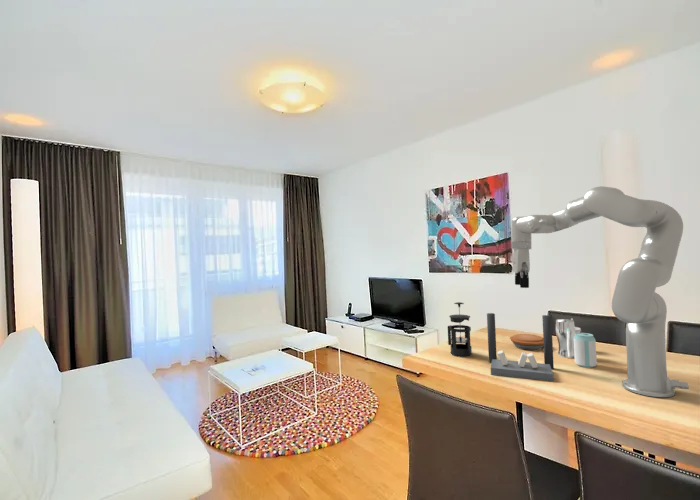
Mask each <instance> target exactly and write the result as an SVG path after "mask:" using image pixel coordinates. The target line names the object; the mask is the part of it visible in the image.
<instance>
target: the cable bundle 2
mask: <svg viewBox="0 0 700 500" xmlns="http://www.w3.org/2000/svg"><path fill="white" fill-rule="evenodd" d="M541 316H542V319H541V320H542V336H543V337H542V338H543V341H544V345H543V356H544V357H543V359H544V360H543V362H544V363H543V364H550V366H551V370H554V368H555V367H554V347H553V346H554V343H553V325H552V324H553V322H552V315H549V314H543V315H541Z"/></svg>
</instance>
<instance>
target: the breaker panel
mask: <svg viewBox="0 0 700 500" xmlns="http://www.w3.org/2000/svg"><path fill="white" fill-rule="evenodd" d="M507 361H508V364H507V365H502V363H501V361H500V359H498V358H497V359H492V363H490V364H491V365H490V375H491V376H492V375H493V376H501V377H509V378H518V379H519V378H520V379H529V380H538V381H539V380H540V381H546V382H548V381H549V382H554V373H553V371H552V370H553V369H551V366H550V364H545V363H541V362H540V363H539V362H537V365H538V367H537V368H532V366H531V363H530V361H526V362H525V365H524V368H523V367H521V366H519V365H518V361H519V360H518V361H517V360H508V359H507Z"/></svg>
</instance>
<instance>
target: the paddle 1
mask: <svg viewBox="0 0 700 500" xmlns="http://www.w3.org/2000/svg"><path fill="white" fill-rule="evenodd" d="M497 356H498V358H499V360H500V361H501V363H502V365H507V364H508V361H509V360H508V359H507V357H506V354H505V352H504V350H503V349H502V350H498V351H497ZM507 360H508V361H507Z"/></svg>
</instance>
